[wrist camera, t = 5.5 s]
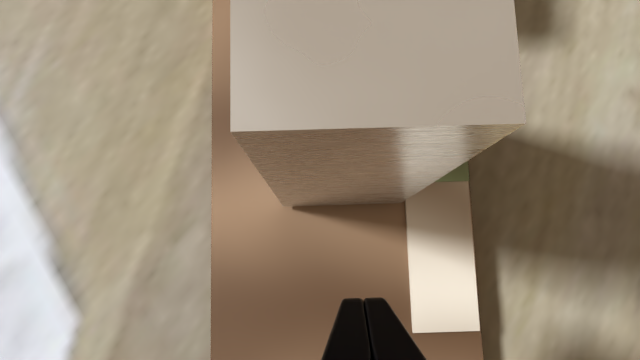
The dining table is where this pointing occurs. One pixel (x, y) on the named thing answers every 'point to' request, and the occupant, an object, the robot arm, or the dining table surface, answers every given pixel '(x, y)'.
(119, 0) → the dining table surface
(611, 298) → the dining table surface
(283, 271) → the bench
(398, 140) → the pale grey block
